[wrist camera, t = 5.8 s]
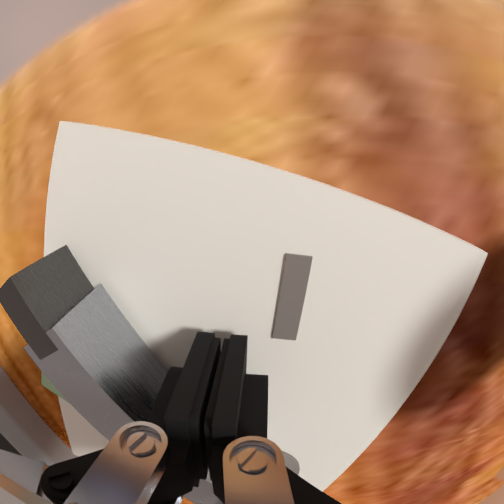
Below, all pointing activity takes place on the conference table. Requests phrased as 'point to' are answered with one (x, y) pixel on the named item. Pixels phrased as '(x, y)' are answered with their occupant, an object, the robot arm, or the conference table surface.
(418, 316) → the dial plate
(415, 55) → the conference table surface
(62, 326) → the grey metallic bar
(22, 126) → the conference table surface
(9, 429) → the grey bevelled block
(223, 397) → the robot arm
